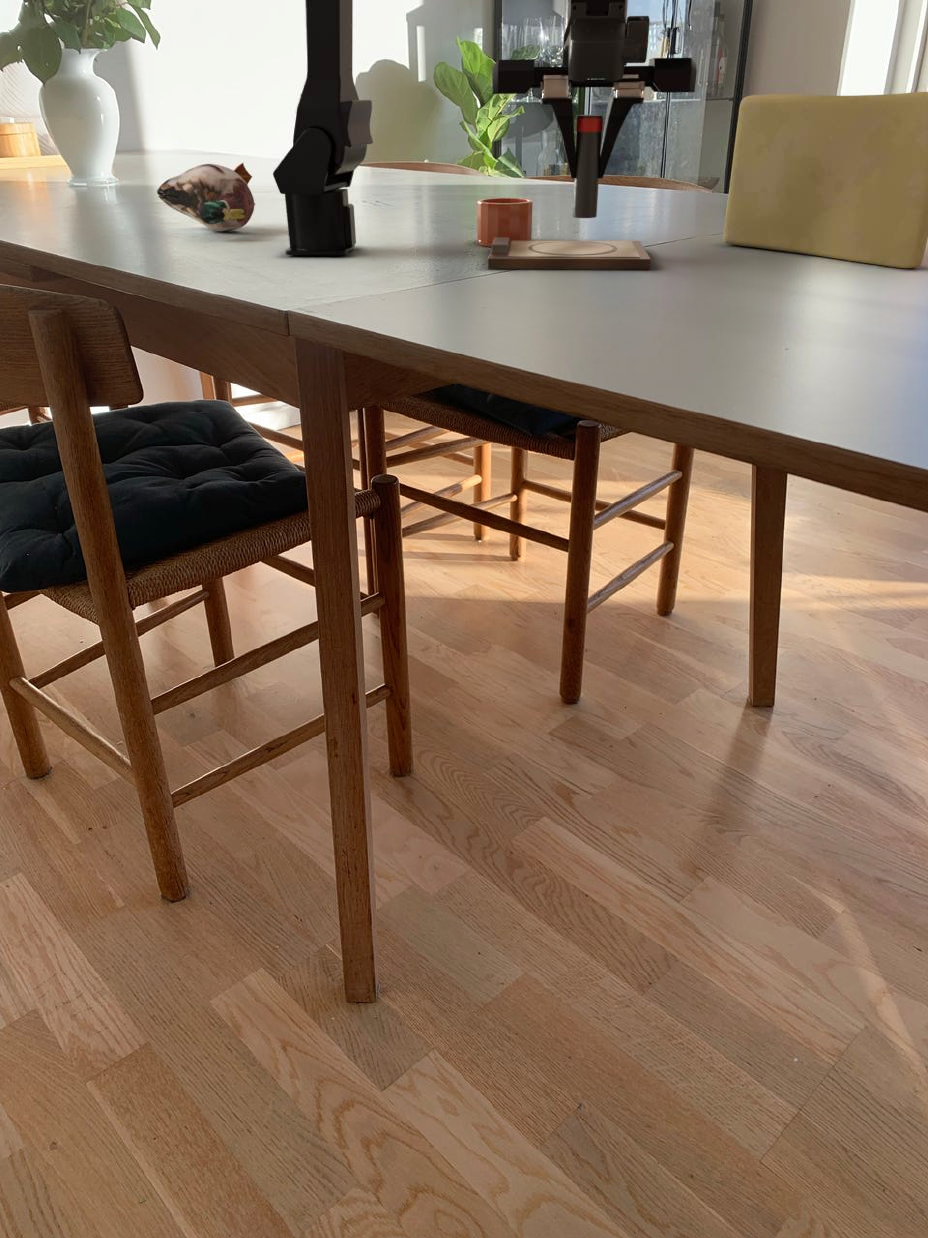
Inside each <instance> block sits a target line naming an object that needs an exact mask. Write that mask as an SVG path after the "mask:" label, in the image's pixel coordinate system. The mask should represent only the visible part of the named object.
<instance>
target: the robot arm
mask: <svg viewBox="0 0 928 1238" xmlns="http://www.w3.org/2000/svg"><path fill="white" fill-rule="evenodd" d="M353 1H354V0H304V2H305V5H304V6H305V50H306V53H305V54H306V75H305V79H304V80H305V81H304V82H303V86H302V89H301V92H300V95H299V98H298V101H297V104H296V109H295V115H294V124H293V131H292V142H291V143H292V145H291V146H292V147H291V148H290V149H289V150H288V152H287V153H286V155H284V157H283V159H282V160H281V161H280V162H279V164H278V165H277V166H276V167H275V169H274V170H273V173H272V176H273V179H274V182H275V184H276V187H277V189H278V191H279V193H280V194H281V195H284V200H285V211H286V221H287V230H288V232H287V233H288V242H289V248H287V249H286V250H285V255H286V256H345V255H347V254H348V253H349V252H350V251H352V250H353V249H354V248H356V247H355V246H356V244H357V236H356V235H357V234H356V221H355V219H356V218H355V206H354V205H353V203H349V192H348V188H350V187H351V185H352V182H353V177H354V173H355V170H356V169H357V168H358V167H359V166H360V165H361V164H362V163H363V162H364V161H365V158H366V155H367V150H368V145H372V144H373V143H374V141H373V138H372V134H371V126H370V125H371V118H372V111H373V101H372V100H371V99H360V98H359V95H358V91H357V89H356V85H355V81H354V74H353V47H354V46H353V43H354V41H353V30H354V29H353V25H354V24H353V18H354V17H353V14H354V13H353V11H354V10H353V9H354V7H353V5H354V4H353V3H354V2H353ZM628 7H629V0H564V13H563V14H564V15H563V16H564V17H563V37H562V59H561V60H562V61H561V66H535V65H536V61H535V60H536V59H535V58H532V59H531V58H529V59H527V58H526V59H519V58H518V59H497V60H496V62H495V63H494V64H493V66H492V71H491V75H492V76H491V78H492V79H491V95H526V94H527V93H528V92H529V90H530V89H539V92H541V96H542V97H540V105H543V106H545V105H546V106H547V105H549V106H550V107H551V109H552V111H553V115H554V117H555V120H556V123H557V125H558V128H559V131H560V135H561V139H562V144H563V148H564V152H565V156H566V162H567V165H568V170H569V175H570V179H571V180H575V176H576V139H575V138H576V137H575V125H574V108H573V98H572V97H569V92H571V91H572V88H574V89H575V88H579V89H580V88H611V91H612V92H613V96H609V97H608V102H607V108H606V113H605V120H604V126H603V131H602V137H601V152H600V164H599V180H602V179H603V178H604V176H605V173H606V170H607V167H608V164H609V162H610V158H611V155H612V153H613V150H614V147H615V144H616V141H617V138H618V136H619V133H620V131H621V129H622V127H623V125H624V123H625V121H626V118H627V116H628V115H629V113H630V111H631V109H632V108H633V106H634V105H642V104H644V102H645V97H642V96H643V91H645V89H646V88H650V89H651V90H652V92H653V93H660V94H661V93H662V94H663V93H665V94H666V93H670V94H673V93H695V92H696V83H697V73H698V71H697V70H698V69H697V68H698V67H697V64H696V62H695V60H694V59H693V58H692V57H653V58H649V59H648V65H628V64H645V63H646V62H647V57H648V49H649V48H648V47H649V38H650V37H649V36H650V24H651V23H650V16H649V15H628Z"/></svg>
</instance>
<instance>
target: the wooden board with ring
mask: <svg viewBox="0 0 928 1238" xmlns="http://www.w3.org/2000/svg"><path fill="white" fill-rule="evenodd" d="M490 248H491V249H490V250H489V251H490V252H489V255H488V258H487V269H488V270H592V271H593V270H594V271H595V270H598V271H599V270H600V271H601V270H602V271H603V270H605V271H606V270H608V271H609V270H610V271H611V270H612V271H613V270H616V271H617V270H619V271H627V270H628V271H629V270H630V271H633V270H634V271H636V270H637V271H650V270H651V265H652V263H651V262H652V259H651V257H650V255H649V254H648V252H647V250H646V248H645V247H644V245H643V244H642V242H641V241H640V240H531V241H509V237H495V238H494V240H493V243H492V247H490Z"/></svg>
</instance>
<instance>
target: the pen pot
mask: <svg viewBox="0 0 928 1238" xmlns="http://www.w3.org/2000/svg"><path fill="white" fill-rule="evenodd" d="M533 202H534V201H533V199H529V198H521V197H490V198H481V199H478V200H477V212H476V213H477V215H476V216H477V228H476V229H477V230H476V231H477V238H476V239H477V244H478V245H479V246H482V247H488V248H489V247H490V248H492V243H493V240H494V238H495V237H509V241H532V236H533V235H532V233H533Z"/></svg>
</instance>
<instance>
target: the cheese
mask: <svg viewBox="0 0 928 1238" xmlns="http://www.w3.org/2000/svg"><path fill="white" fill-rule="evenodd" d="M732 155H733V156H732V164H731V172H730V179H729V188H728V195H727V202H726V209H725V217H724V225H723V226H724V227H723V234H722V240H723V242H724V243H725V244H727V245H733V246H740V247H749V248H756V249H765V250H772V251H773V250H774V251H780V252H788V253H795V254H802V255H811V256H818V257H825V258H830V259H831V258H832V259H836V260H837V259H838V260H844V261H851V262H857V263H864V264H869V265H877V266H885V267H891V268H897V269H912V268H918V267H920V266H921V265H922V263H923V261H924V256H925V251H926V247H927V242H928V91H913V92H905V93H904V92H903V93H901V92H900V93H889V94H865V95H864V94H861V95H829V94H828V95H827V94H825V95H824V94H807V93H806V94H805V93H804V94H803V93H767V94H765V93H763V94H751V95H747V96H745V97H743V98H742V99H741V101H740V104H739V110H738V117H737V125H736V133H735V141H734V148H733V154H732Z"/></svg>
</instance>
